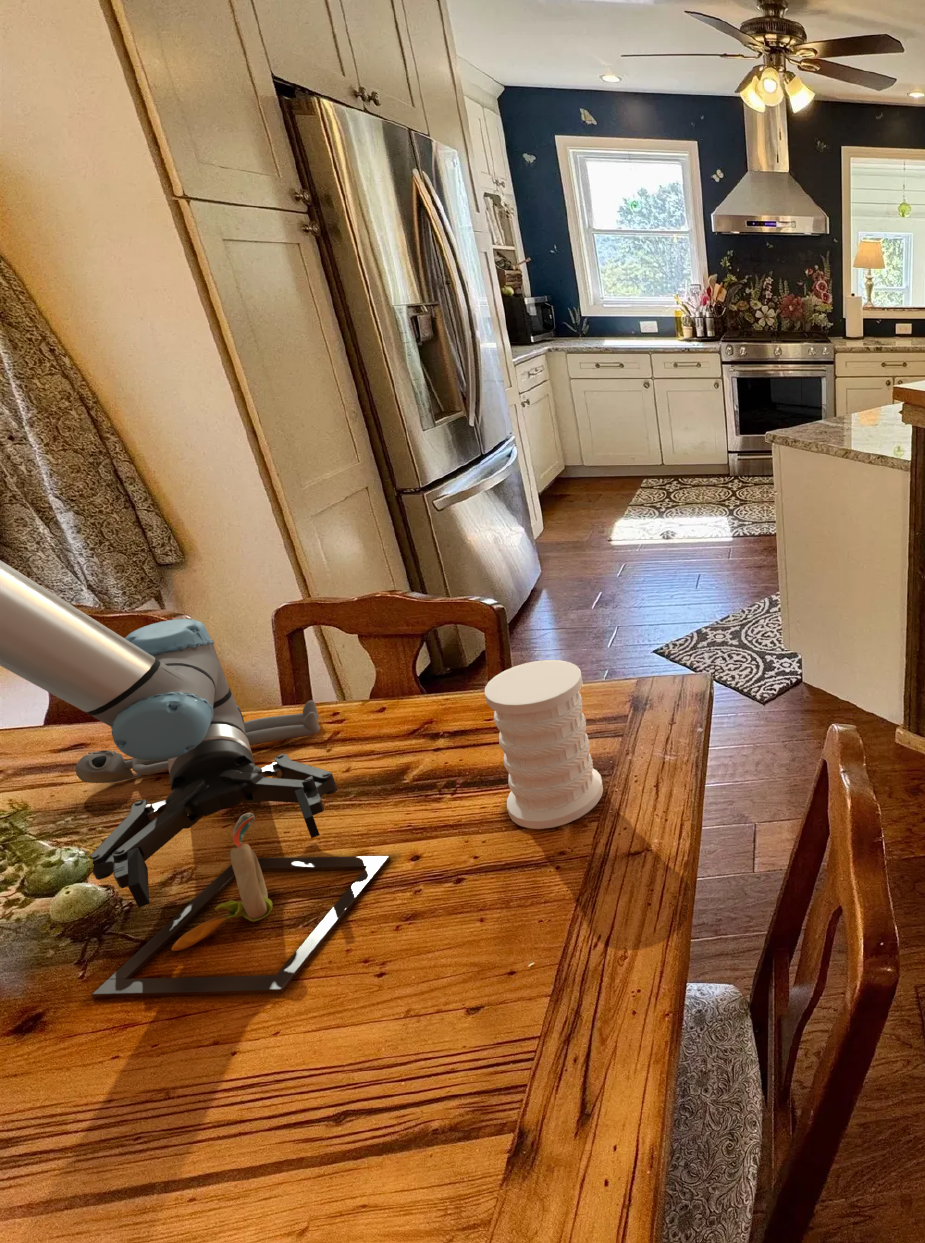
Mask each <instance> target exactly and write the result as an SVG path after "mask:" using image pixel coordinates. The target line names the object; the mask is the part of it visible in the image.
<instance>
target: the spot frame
mask: <svg viewBox="0 0 925 1243" xmlns="http://www.w3.org/2000/svg"><path fill="white" fill-rule="evenodd" d="M257 859H258V862H259V864H260V868H261V871H262V872H290V871H292V872H295V871H296V872H297V871H345V870H346V871H347V870H348V871H349V870H352V871H353V870H363V871H362V872H360V874H359V875H358V876H357V878H356V879H355V880H354V881H353V882H352V884H351V885H350V886H349V887H348V889H347V890H345V892H344V893H343V894H342V895H341V897H340V898H339V900H338V901H337V902H336V903H335V904H334V905H333V906H332V907H331V909H329V911H328V912H327V913H326V914H325V916H324V917H323V918H322V920H321V921H320V922H319V923H318V924H317V926H316V927H315V928H314V929H313V930H312V931H311V933H310V934H309V935H308V936H307V937H306V939H305V940H304V941H303V942H302V943H301V945H300V946H299V947H298V948H297V949H296V951H294V953H293V954H292V956H291V957H290V958H289V959H288V960H287V961H286V963H285V964H284V965H283V966H282V968H280V970H279V971H278V972H277V973H276V974H269V975H267V974H266V975H231V976H227V975H226V976H189V977H188V976H187V977H153V978H152V977H150V978H149V977H148V978H146V977H145V978H133V977H134V976H135V975H136V974H138V972H139V971H140V970H141V969H142V968H144V967H145V965H147V964H148V962H150V961H151V960H152V959H153V958H154V957H155V956H156V955H157V954H158V953H159V952H160V951H161V950H162V949H163V948H165V947H166V945H168V943H170V942H171V941H172V940H173V939H174V938H175V937H176V936H177V935H178V934H179V933H180V932H181V931H182V930H184V928H185V927H186V926H188V924H189V923H191V922H192V921H193V920H194V919H195V918H196V917H197V916H198V915H199V914H200V913H201V912H202V911H203V910H204V909H205V908H206V907H207V906H208V905H209V904H210V903H211V902H212V901H213V900H214V899H216V897H218V896H219V895H220V893H222V892H223V891H224V890H225V889H226V888H227V887H228V886H229V885H230V884H232V882H234V880H236V877H235V874H234V871H233V867H232V863H230V865H229V866H228V867H227V868H226V869H225V870H223V872H222V873H220V874H219V875H218V876H217V877H216V878H215V879H214V880H213V881H211V883H210V884H209V885H207V887H205V888H204V889H203V890H202V891H201V892H200V893H199V894H198V895H197V896H195V898H193V899H192V900H191V902H189V903H188V904H187V905H186V906H185V907H184V908H182V910H181V911H179V913H177V914H176V915H175V916H174V917H172V919H171V920H170V921H169V922H168V923H167V924H165V925H164V927H162V928H161V929H160V930H159V931H158V932H157V933H156V934H155V935H154V936H153V937H152V938H151V939H150V940H148V941H147V942H146V943H145V944H144V945H143V946H141V948H140V949H139V950H137V951H136V953H134V954H133V955H132V956H131V957H130V958H129V959H128V960H127V961H126V962H125V963H124V964H123V965H121V966H120V968H119V969H117V970H116V971H115V972H114V973H112V975H110V976H109V977H108V979H106V980H105V982H103V983H102V984H101V985H100V986H99V987H98V988H97V989H96V990H94V991H93V992H92V994H91V996H92V998H94V999H96V998H97V999H102V998H103V999H104V998H105V999H106V998H138V997H141V998H142V997H144V998H145V997H176V996H216V995H217V996H219V995H249V994H251V995H253V994H254V995H255V994H257V995H258V994H283V992H284V991H286V989H287V988H288V986H289V985H290V984H291V983H292V981H293V980H294V979H295V978H296V977H297V975H298V974H299V973H300V972H301V970H302V969H303V968H304V967H305V966H306V965H307V963H308V962H309V961H310V960H311V958H312V957H313V956H314V954H315V953H316V952H317V951H318V949H319V948H320V947H321V946H322V945H323V943H325V940H327V938H328V937H329V936H330V935H331V934H332V932H333V931H334V930H335V928H336V927H337V926H338V925H339V924H340V922H341V921H342V920H343V919H344V917H345V916H346V915H347V914H348V912H349V911H350V910H351V908H353V906H354V905H355V904H356V903H357V901H358V900H359V899H360V898H361V897H362V895H363V894H364V893H365V892H366V890H367V889H368V887H369V886H370V885H371V884H372V882H373V881H374V880H375V879H376V877H377V876H378V875H379V874H380V873H381V871H383V869H384V868H385V866H386V865H387V864H388V863H389V861H391V856H390V855H374V856H373V855H366V856H365V855H364V856H361V855H360V856H307V857H306V856H304V857H303V856H299V857H298V856H297V857H257Z"/></svg>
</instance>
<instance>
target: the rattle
mask: <svg viewBox="0 0 925 1243" xmlns="http://www.w3.org/2000/svg"><path fill="white" fill-rule="evenodd" d="M255 818H256V817H255V815H254V813H252V812H247V813H244V814H242V815H240V817H239V818H238V820H237V822H236V823H235V825H234V828H233V831H232V843H233V844H234V847H232V848H231V850H230V851H229V857H230V864H232V867H233V871H234V874H235V877H236V878H235V882H236V885H237V890H238V894H239V898H240V900H241V901H237V900H233V899H229V900H228V901H227V902H221V903H219V904H218V905H217V906H216V907H215V908H214V911H216V912H218V911H221V910H225V911H228V913H225V914H222V915H218V916H216V917H213V918H211V919H209V920H207V921H205V922H202V923H201V924H199V925H197V926H195V927H194V928H191V929H190V930H189V931H187V932H185V933H184V934H183V935H181V936H180V937H179V938H178V939H177V940H176V941H175V942H174V943H173V945H172V946H171V949H170V950H171V951H173V952H178V951H179V952H180V951H183V950H185V949H188V948H190V947H192V946H194V945H196V944H198V943H199V942H200V941H202V940H204V939H205V938H206V937H207V936H209V935H210V934H212V932H214V931H215V930H216V929H217V928H219V926H220V925H222V923H224V922H225V921H227V920H228V919H231V918H240V917H242V918H245V919H246V920H248V921H250V922H251V923H253V922H258V921H260V920H262V919H264V918H266V917H267V916H269V915H270V914H271V912H272V910H273V905H274V904H273V901H272V900H271V899H270V898H269V894H268V889H267V886H266V881H265V878H264V874H263V871H261V868H260V864H259V862H258V859H257V858H258V856H257V854H256V852H255V851H254V850H253V849H252V848H251V846H250V845H249V844H248V843H242V842H243V838H244V836H245V834H246V833H247V831H248V830H249V829H250V828H251V826H252V825H253V824H254V822H255Z"/></svg>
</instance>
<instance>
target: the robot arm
mask: <svg viewBox="0 0 925 1243" xmlns="http://www.w3.org/2000/svg"><path fill="white" fill-rule="evenodd" d="M214 644H215V640H213V639H212V638H211V636H210V634H209V631H208V630H207V627H206V626H205V624H204V623H203V622H201V621H200V620H197V619H191V618H175V619H169V620H163V621H158V622H155V623H151V624H148V625H145V626H142V627H139V628H137V629H135V630H133V631H132V632H130V633H128V634H127V635H126V636H125V637H123V636H122V635H120V634H118V633H117V632H115V631H113V630H112V629H110V628H109V627H107V626H105V625H104V624H102V623H101V622H99V621H97V620H96V619H94V618H93V617H91V616H90V615H88V614H87V613H85V612H83V611H82V610H80V609H78V608H77V607H76V606H73V605H72V604H71V603H69V602H67V601H66V600H65V599H63V598H61V597H60V596H58V595H57V594H55V593H53V592H52V591H50V590H48V589H47V588H45V587H44V586H42V585H40V584H39V583H37V581H35V580H32V579H31V578H29V577H27V576H26V575H25V574H23V573H21V571H18V570H17V569H16V568H13V567H12V566H10V565H8V564H7V563H6V562H4V561H2V560H1V559H0V667H2V668H4V669H6V670H7V671H9V672H11V673H12V674H15V675H16V676H18V677H20V678H22V679H23V680H25V681H27V682H29V683H31V684H33V685H34V686H37V687H39V689H42V690H44V691H46V693H49V694H51V695H52V696H55V697H56V698H58V699H60V700H62V701H64V702H65V703H67V704H70V705H72V706H73V707H75V708H77V709H79V710H81V711H82V712H84V713H86V714H88V715H90V716H91V717H93V718H95V719H96V720H98V721H100V722H102V723H103V724H105V725H107V726H109V727H110V729H111V736H112V739H113V742H114V745H115V746H116V748H118V750H119V751H120V752H121V753H123V754H125V755H126V756H127V757H129V758H132V759H133V758H136V759H140V760H147V761H160V760H167V759H168V766H169V769H168V774H169V784H170V790H171V791H170V794H168V795H167V796H166V799H164V800H160V801H157V802H154V803H148V801H147V800H146V799H141V800H138V801H136V802H134V803H132V804H131V806H130V809H129V810H130V811H129V814H128V815H127V816H126V817H125V818H124V819H123V820H122V821H121V822H120V823H119V824H118V825H117V826H116V828H115V829H114V830H113V831H112V832H111V833H110V834H109V835H108V836H107V837H106V838H105V839H104V840H103V841H102V842H101V843H100V844H99V846H97V847H96V849H95V850H94V851H92V853H91V854H90V855H89V856H91V857H92V859H93V864H94V868H93V871H92V870H91V872H92V874H93V876H94V877H95V879H96V880H97V881H98V880H99V881H100V880H104V879H106V878H108V877H110V876H111V875H113V878H114V880H115V881H116V884H117V886H118V887H119V888H120V889H124V888H128V889H129V892H130V894H131V896H132V897H133V899H134V901H135V903H136V905H137V907H138V908H139V909H140V908H142V907H145V906H147V905H150V885H149V869H148V865H147V863H146V861H147V860H148V859H149V858H151V857H152V856H153V855H154V854H156V853H157V852H158V851H159V850H160V849H161V848H163V847H164V846H165V845H166V844H167V843H168V842H170V841H171V840H172V839H173V838H174V837H175V836H177V835H178V834H179V833H180V832H181V831H183V830H187V829H188V830H189V829H191V828H192V827H193V826H194V825H195V824H196V823H198V822H199V820H201V819H202V818H204V817H207V816H211V815H213V814H215V813H217V812H218V813H219V812H220V811H222V810H226V809H229V808H233V807H235V806H238V805H241V803H247V804H261V803H262V802H263V801H264V802H265V801H266V802H278V803H279V802H280V803H292V804H298V805H299V808H300V810H301V813H302V816H303V819H304V823H305V825H306V827H307V830H308V833H309V836H310V839H314V838H316V837H319V836H320V832H319V829H318V826H317V824H316V821H315V817H314V816H315V815H318V814H320V813H323V812H324V810H325V806H324V804H323V801H322V797H323V796H324V795H332V794H334V793H336V792H337V791H338V787H337V783H336V780H335V778H334V774H333V772H332V771H329V770H325V769H323V768H319V767H315V766H312V765H309V764H305V763H302V762H299V761H295V760H292V759H291V758H290V757H289V756H288V754H286V753H280V754H278V755H276V756H275V757H274V762H272V763H271V764H268V765H265V766H263V767H260V766H258V765H256V763H255V758H254V756H253V751H252V749H251V745H250V744H249V741H248V738H247V736H246V733H245V728H244V722H245V720H244V716H243V712H242V711H241V709H240V707H239V705H237V702H236V699H235V697H234V695H233V692H232V691H231V690H232V689H231V688H230V687H229V683H228V681H227V678H226V676H225V673H224V670H223V667H222V665H221V662H220V659H219V656H218V654H217V651H216V648H215V645H214Z"/></svg>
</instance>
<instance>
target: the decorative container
mask: <svg viewBox="0 0 925 1243" xmlns="http://www.w3.org/2000/svg"><path fill="white" fill-rule="evenodd" d="M583 684H584V682H583V677H582V672H581V669H580V668H579V666H578V665H577V664H574V663H572V662H570V661H565V660H562V659H561V660H560V659H546V660H544V659H542V660H535V661H529V662H525V663H522V664H518V665H515V666H512V667H510V668H507V669H505V670H504V671H501V672H499V673H498V674H497V675H494V676H493V678H491V679H490V680H489V681H488V682H487V684H486V685H485V686H484V696H485V702H486V704H487V706H488V707H489V708H490V709H491V710H493V711H494V712H493V713H494V714H493V721H494V725H495V726H496V728H497V729H498V731H499V733H498V743H499V744H498V745H499V747H500V748H501V750H502V752H503V753H504V754H503V766H504V768H505V770H506V772H507V773H508V778H507V780H508V781H507V784H508V788H509V789H510V792H509V794H508V796H507V799H506V809H507V814H508V816H509V818H510V819H511V821H512V822H513V823H515V824H516V825H518V826H520V827H523V828H526V829H532V830H533V829H537V830H542V829H543V830H544V829H551V828H552V829H553V828H556V827H560V826H564V825H567V824H569V823H571V822H573V821H576V820H578V819H580V818H581V817H583V816H585V815H586V814H588V813H589V812H591V811H592V809H594V808H595V807H596V806H597V804H598V803H599V801H600V800H601V798H602V796H603V792H604V785H603V779H602V775H601V774H600V773H599V771H598V770H597V769H595V768H594V766H593V765H594V762H593V761H594V760H593V759H592V758H593V757H592V754H591V753H590V749H591V746H590V745H591V743H590V739H589V736H588V734H587V733H586V731H587V725H586V724H587V719H586V716H585V713H583V707H584V705H583V703H584V700H583V699H584V698H582V695H581V692H580V691H581V688H582V687H583Z"/></svg>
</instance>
